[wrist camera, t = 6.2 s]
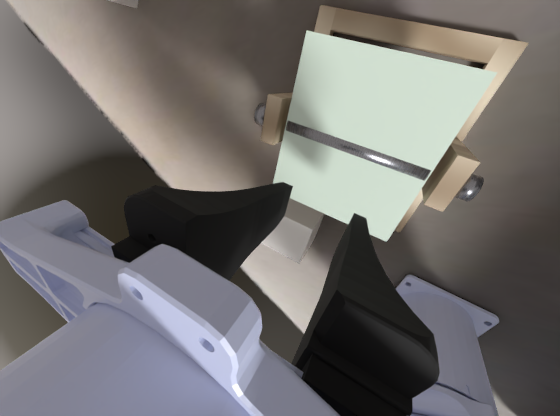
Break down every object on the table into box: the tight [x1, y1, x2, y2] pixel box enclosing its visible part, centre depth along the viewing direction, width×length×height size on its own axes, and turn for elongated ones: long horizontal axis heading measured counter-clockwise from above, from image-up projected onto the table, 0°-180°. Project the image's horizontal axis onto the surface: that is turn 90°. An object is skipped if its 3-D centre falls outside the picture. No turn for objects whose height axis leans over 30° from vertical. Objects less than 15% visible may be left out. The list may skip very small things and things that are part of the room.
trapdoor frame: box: [255, 5, 528, 233], centre depth 16 cm, size 14×14×7 cm
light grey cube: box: [261, 198, 324, 264], centre depth 24 cm, size 4×4×4 cm
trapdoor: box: [273, 31, 497, 242], centre depth 14 cm, size 10×9×2 cm
